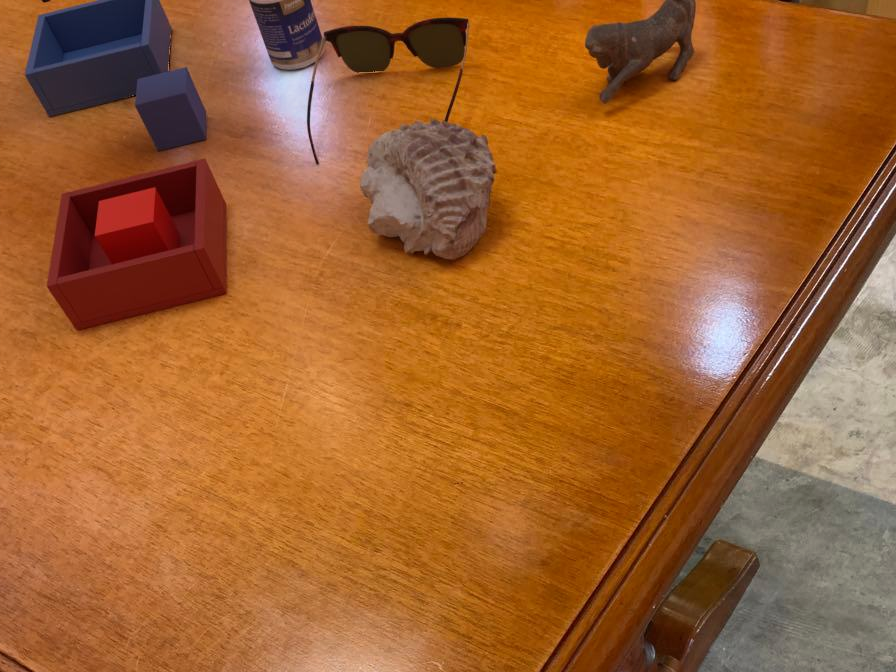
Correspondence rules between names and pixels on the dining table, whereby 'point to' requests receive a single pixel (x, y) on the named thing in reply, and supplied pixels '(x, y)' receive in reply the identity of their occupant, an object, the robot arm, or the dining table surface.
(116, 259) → the red block
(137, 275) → the maroon bin
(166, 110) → the blue block
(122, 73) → the blue bin
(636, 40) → the dog figurine
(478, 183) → the seashell
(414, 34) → the sunglasses
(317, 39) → the pill bottle
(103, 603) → the dining table surface
